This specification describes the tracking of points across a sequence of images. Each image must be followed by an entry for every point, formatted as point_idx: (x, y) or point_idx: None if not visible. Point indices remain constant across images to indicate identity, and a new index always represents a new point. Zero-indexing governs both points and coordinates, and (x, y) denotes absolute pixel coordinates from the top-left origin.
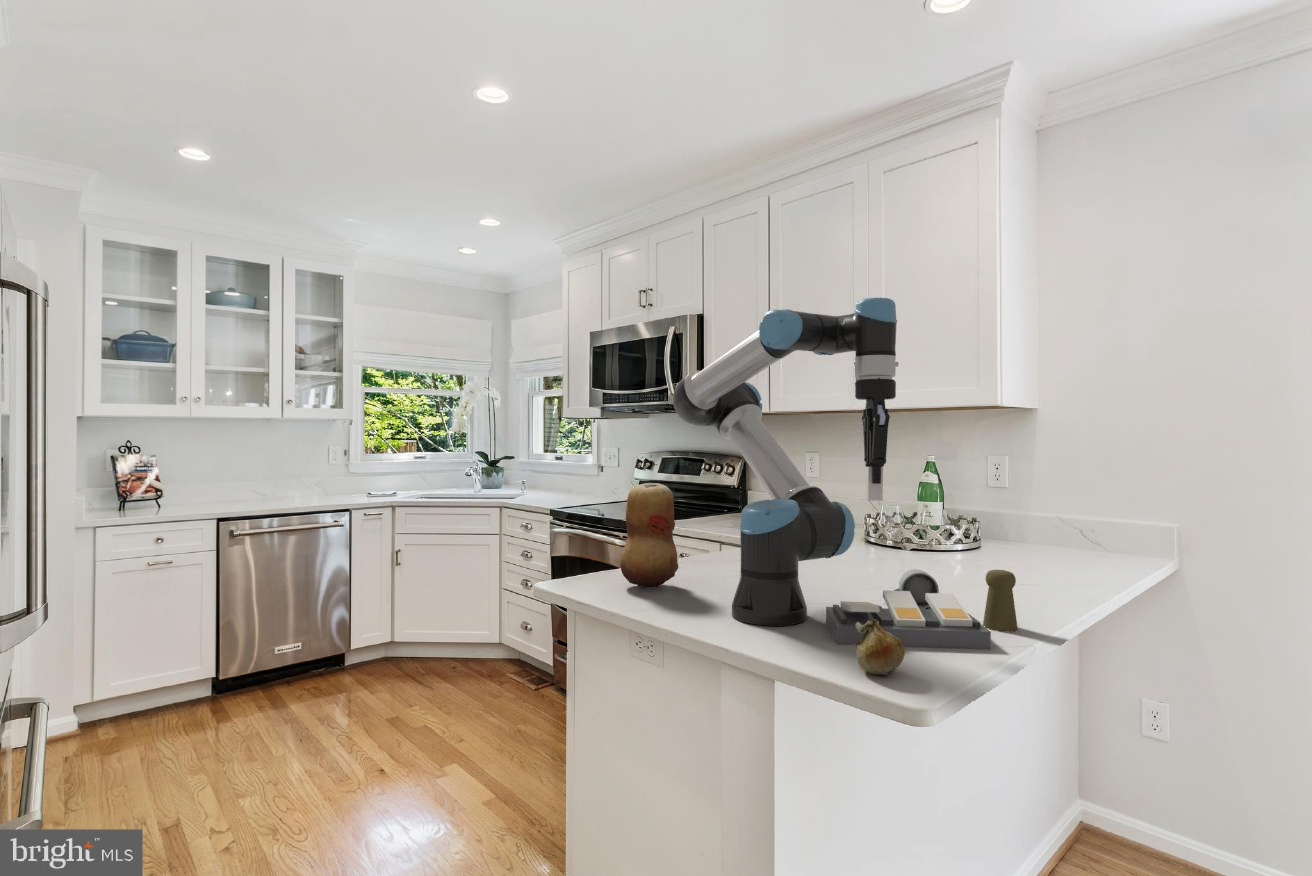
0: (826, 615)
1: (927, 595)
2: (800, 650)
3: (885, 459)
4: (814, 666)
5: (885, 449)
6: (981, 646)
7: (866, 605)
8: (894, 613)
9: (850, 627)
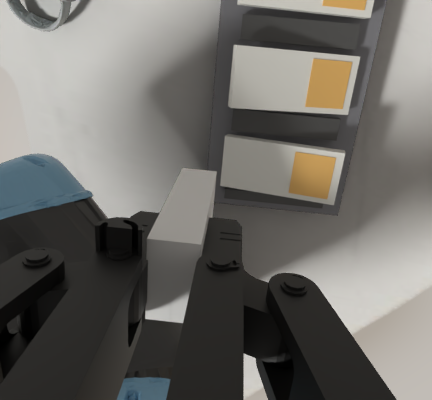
0: None
1: (254, 4)
2: (354, 262)
3: (324, 300)
4: (424, 259)
5: (370, 373)
6: None
7: (339, 177)
8: (326, 112)
9: (341, 196)
